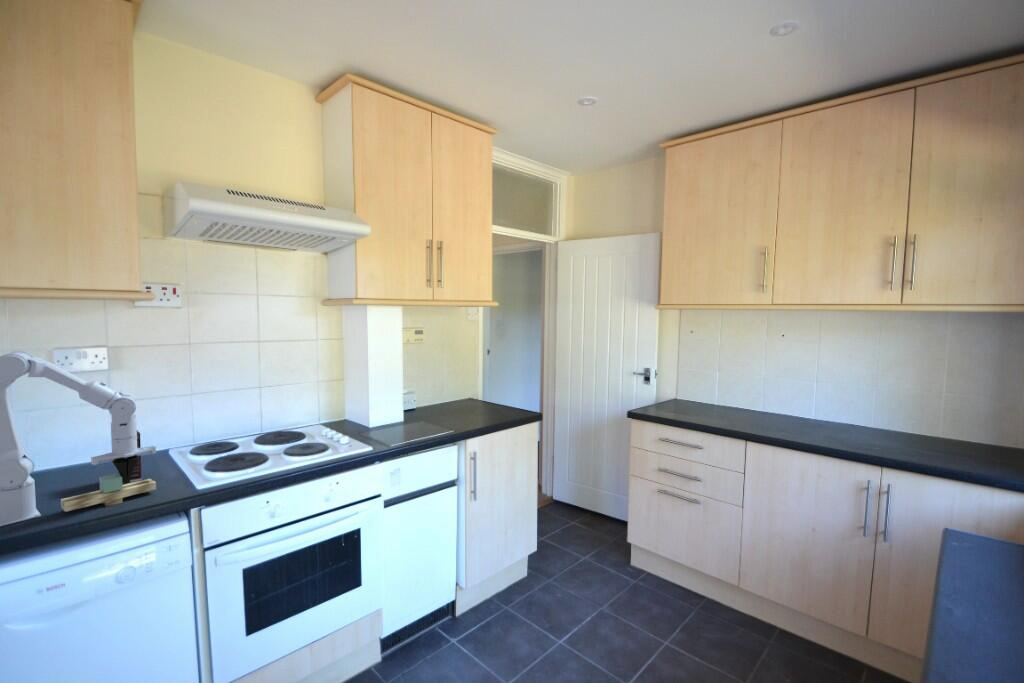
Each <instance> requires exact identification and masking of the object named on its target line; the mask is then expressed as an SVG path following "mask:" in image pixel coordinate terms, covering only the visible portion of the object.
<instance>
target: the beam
mask: <svg viewBox="0 0 1024 683" xmlns="http://www.w3.org/2000/svg"><path fill="white" fill-rule="evenodd" d="M154 490H157V482H156V481H155V480H153V479H152V478H147V479H143V480H141V481H137V482H132V483H127V484H122V489H120V490H116V491H112V492H108V493H104V492H102V491H101V490H100V489H99V490H96V491H91V492H86V493H81V494H78V495H73V496H70V497H66V498H65V497H64V498H61V499H60V507H61V509H62V510H63V511H64V512H65V513H66V512H70V511H74V510H79V509H82V508H87V507H91V506H94V505H99V504H103V505H104V506H105V507H106V508H107V507H111V506H114V505H118V504H122V503H123V501H124V500H123V499H124V498H127V497H131V496H134V495H139V494H142V493H146V492H151V491H154Z"/></svg>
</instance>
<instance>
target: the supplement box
mask: <svg viewBox="0 0 1024 683" xmlns="http://www.w3.org/2000/svg"><path fill="white" fill-rule="evenodd" d="M141 447H142V445H141V432H140V431H139V430H137V448H141ZM137 458H138V462H137V464H136V465H135V467H134V469H133V472H132V475H131V478H130V483H133V482H138V481H142V479H143V478H142V455H140V456H137ZM118 474H119V473H118ZM119 475H120V474H119ZM126 484H128V483H126ZM122 485H125V484H124V483H122Z"/></svg>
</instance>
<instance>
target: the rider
mask: <svg viewBox="0 0 1024 683" xmlns="http://www.w3.org/2000/svg"><path fill="white" fill-rule="evenodd" d="M98 479H99V490H101V491H102V492H104V493H108V492H112V491H116V490H120V489H122V485H123V483H122V476H120V475H119V473H113V474H109V475H104V476H99V478H98Z"/></svg>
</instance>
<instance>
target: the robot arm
mask: <svg viewBox="0 0 1024 683" xmlns="http://www.w3.org/2000/svg"><path fill="white" fill-rule="evenodd" d="M26 374H28V375H27V378H45V379H48V380H50V381H53V382H54V383H57V384H59V385H62V386H64V387H66V388H68V389H71V390H74V391H75V392H77V393H78V396H79V399H80V400H83V401H85V402H87V403H89V404H91V405H93V406H96V407H98V408H100V409H102V410H103V411H104V410H107V411H108V412H109V414H110V415H111V423H110V436H111V452H108V453H103V454H99V455H96V456H92V457H90V459H91V461H90V462H91V463H90V464H91V465H92V466H96V465H99V464H103V463H104V464H105V463H108V462H112V464H113V465H114V467H115V468H116V470H117V472H118V474H120V476H122V484H123V483H124V484H123V485H125V484H126V483H127V484H129V483H130V478H131V475H132V472H133V469H134V467H135V465H136V464H137V462H138V458H137V456H140V455H141V456H144V455H149V454H151V455H152V454H156V453H157V446H155V445H151V446H141V448H137V431H138V430H137V429H138V428H137V420H136V417H137V416H136V415H137V414H136V413H135V412H136V410H137V402H136V400H135V399H134V398H133V397H131V395H129V394H125V393H124V392H123V391H120V390H119V391H117V390H115V389H113V388H111V387H109V386H107V383H106V382H104V381H101V382H99V381H97V380H93V381H86V380H84V379H82V378H80V377H78V376H77V375H75V374H73V373H70V372H69V371H67V370H65V369H63V368H62V367H60V366H59V365H58V366H57V365H56V364H53V363H52V362H50V361H47V360H45V359H43V358H40V357H38V356H33V355H32V354H30V353H29V352H25V351H19V350H18V351H12V352H10V353H6V354H5V353H4V354H3V355H0V527H3V526H8V525H11V524H14V523H19V522H24V521H28V520H32V519H35V518H40V517H41V516H42V514H41V513H40V512H39V510H38V509H37V500H36V486H35V485H36V484H35V479H34V478H33V477H32V476H31V474H32V473H33V472H34V469H35V462H34V460H32V459H31V458H30V457H29V456H28V455H27V451H26V449H24V447H23V446H22V443H21V438H20V436H19V433H18V429H17V425H16V422H15V418H14V415H13V411H12V407H11V404H10V400H9V397H8V393H7V389H8V388H9V387H10V386H11V385H13V383H15V382H16V380H17V379H19V378H21V377H22V376H25V375H26Z"/></svg>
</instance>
